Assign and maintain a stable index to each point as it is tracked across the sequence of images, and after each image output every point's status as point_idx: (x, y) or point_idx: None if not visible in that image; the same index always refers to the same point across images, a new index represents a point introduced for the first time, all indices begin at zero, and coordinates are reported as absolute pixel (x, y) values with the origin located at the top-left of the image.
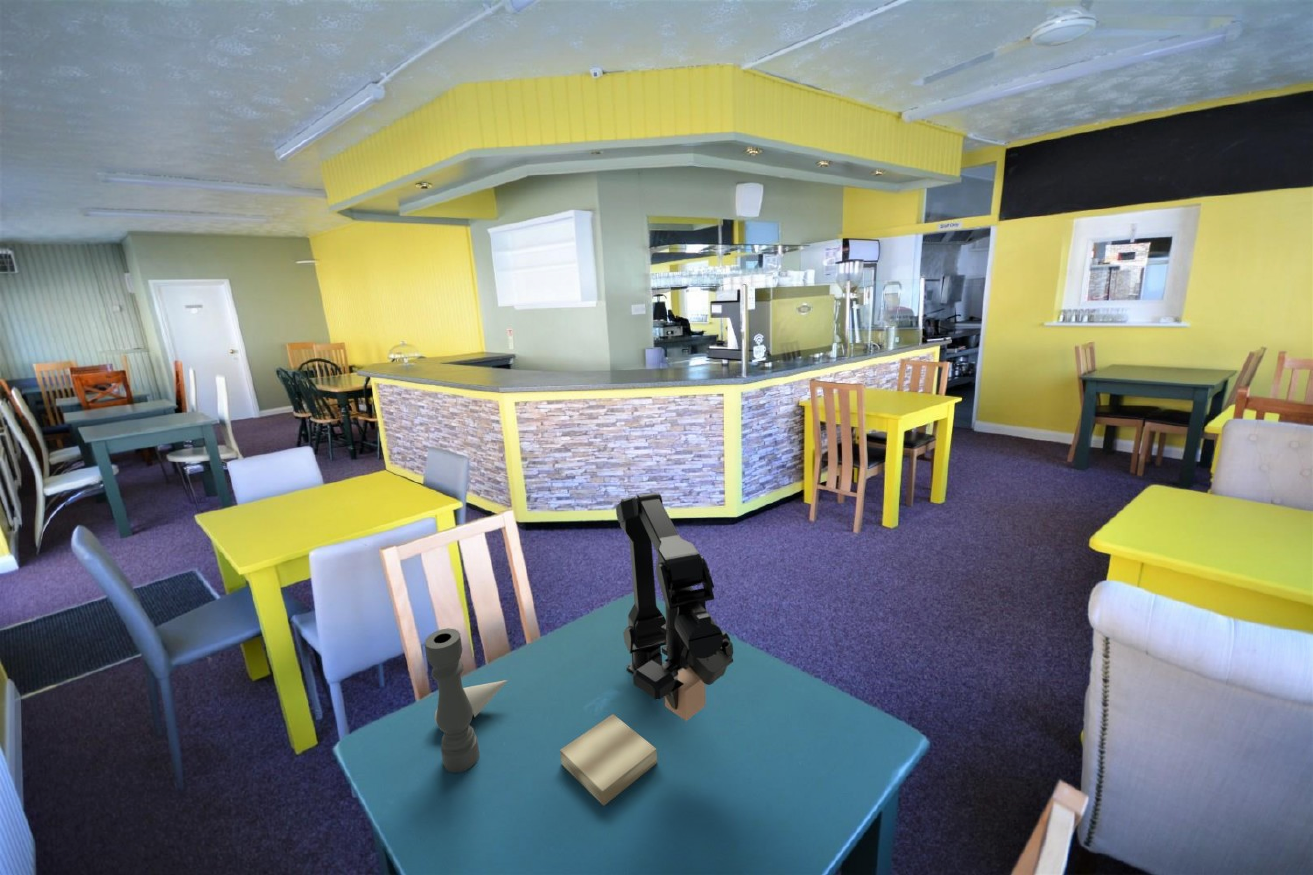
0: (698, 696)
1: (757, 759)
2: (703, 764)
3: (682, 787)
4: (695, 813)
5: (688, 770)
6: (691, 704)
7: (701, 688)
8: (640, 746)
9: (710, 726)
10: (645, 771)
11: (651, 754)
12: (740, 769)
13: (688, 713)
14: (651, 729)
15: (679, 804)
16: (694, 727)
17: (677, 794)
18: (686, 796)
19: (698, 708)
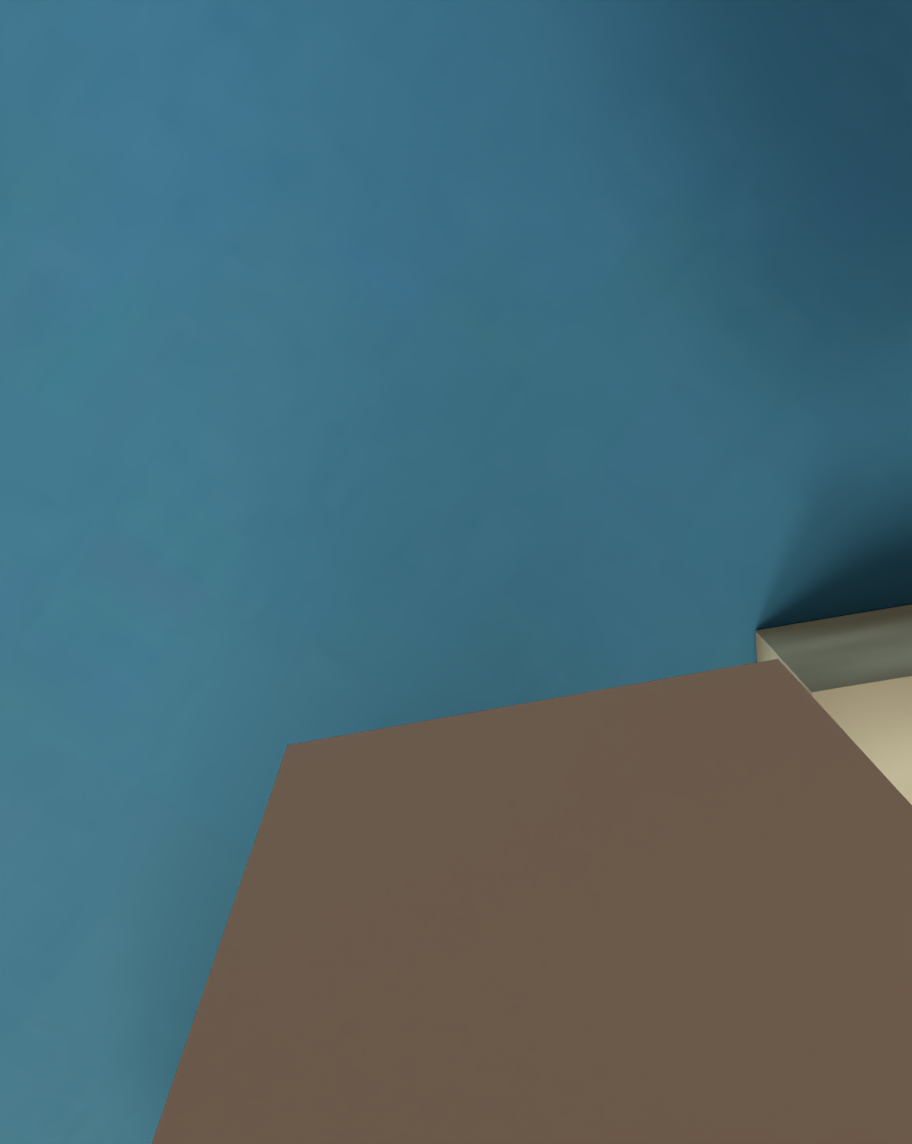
0: (467, 936)
1: (30, 154)
2: (476, 407)
3: (762, 323)
4: (862, 28)
5: (613, 432)
6: (717, 841)
7: (327, 1122)
8: (896, 783)
9: (191, 678)
10: (882, 611)
11: (865, 673)
12: (237, 162)
13: (763, 726)
14: None
15: (896, 197)
16: (309, 737)
17: (839, 291)
18: (799, 227)
19: (467, 742)
